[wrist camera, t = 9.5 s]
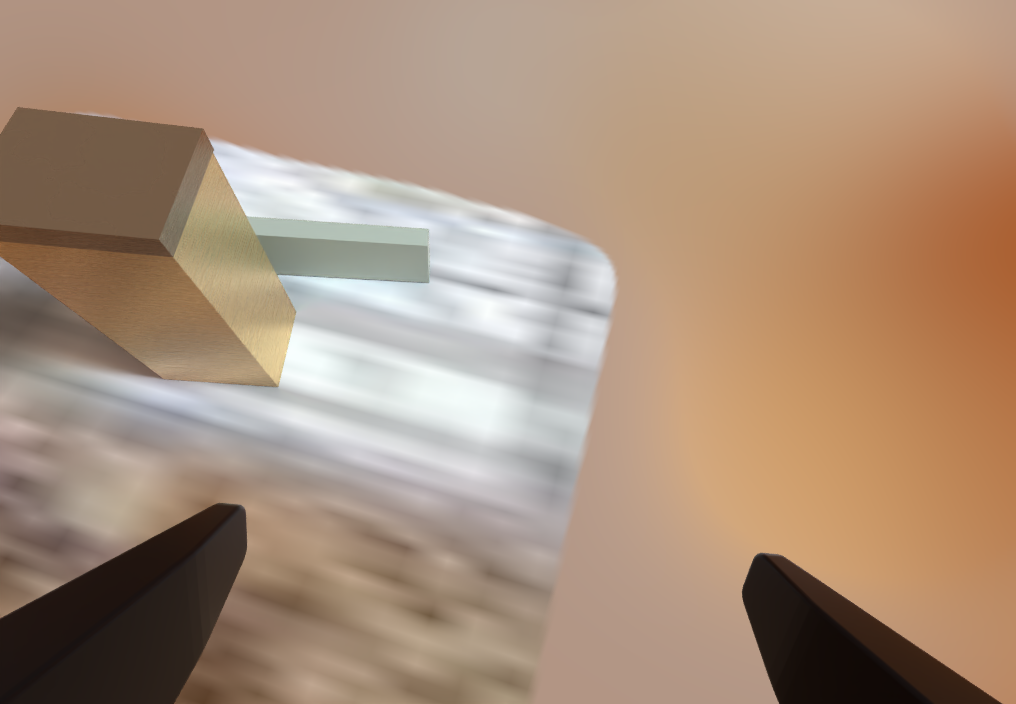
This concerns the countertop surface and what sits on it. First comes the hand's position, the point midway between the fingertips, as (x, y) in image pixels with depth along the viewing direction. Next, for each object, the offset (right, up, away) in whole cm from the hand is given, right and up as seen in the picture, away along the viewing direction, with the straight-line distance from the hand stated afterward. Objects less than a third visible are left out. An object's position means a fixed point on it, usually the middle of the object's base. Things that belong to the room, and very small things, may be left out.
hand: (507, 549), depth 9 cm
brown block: (-13, +4, +15) cm, 20 cm away
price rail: (-13, +8, +17) cm, 23 cm away
